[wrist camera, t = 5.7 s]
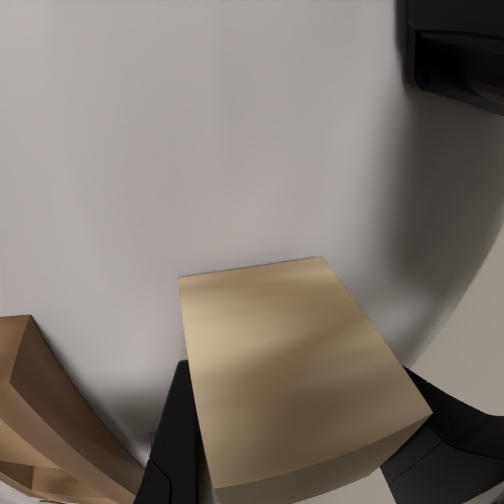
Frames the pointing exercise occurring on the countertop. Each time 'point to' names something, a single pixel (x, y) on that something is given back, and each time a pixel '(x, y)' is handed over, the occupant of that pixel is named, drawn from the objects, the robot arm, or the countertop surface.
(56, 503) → the travel mug
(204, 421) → the square bit
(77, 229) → the countertop surface
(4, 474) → the socket block
